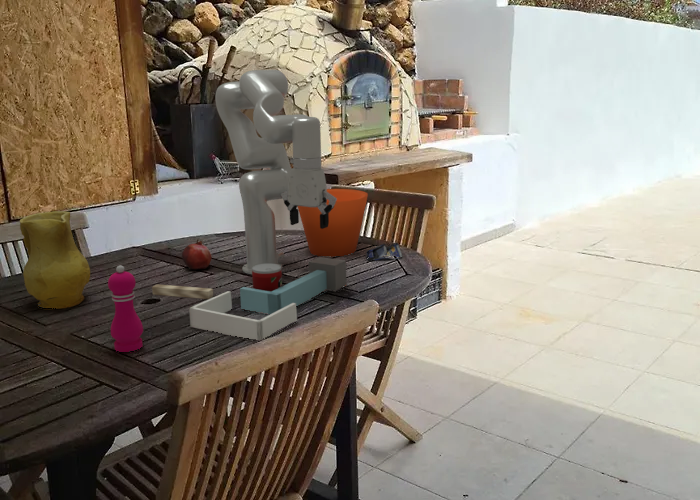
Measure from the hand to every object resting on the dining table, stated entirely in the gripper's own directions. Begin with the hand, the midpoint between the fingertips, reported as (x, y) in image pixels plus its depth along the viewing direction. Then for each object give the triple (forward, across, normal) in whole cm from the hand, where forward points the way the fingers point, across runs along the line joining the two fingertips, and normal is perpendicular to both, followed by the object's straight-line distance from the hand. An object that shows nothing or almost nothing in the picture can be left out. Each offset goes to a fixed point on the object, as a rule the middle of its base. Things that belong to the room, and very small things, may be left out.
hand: (309, 225), depth 193 cm
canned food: (+20, -5, -13) cm, 25 cm away
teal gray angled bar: (+20, -3, -4) cm, 21 cm away
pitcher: (+21, -60, -36) cm, 73 cm away
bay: (+20, -3, -27) cm, 34 cm away
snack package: (+21, 0, +43) cm, 48 cm away
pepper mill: (+20, -17, -52) cm, 58 cm away
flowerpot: (+21, -20, +44) cm, 53 cm away
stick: (+21, -33, -17) cm, 42 cm away
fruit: (+21, -48, +6) cm, 53 cm away
